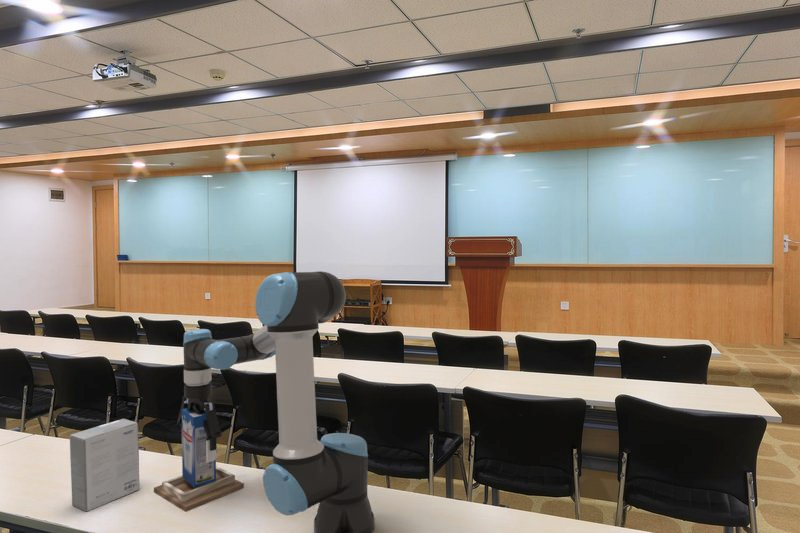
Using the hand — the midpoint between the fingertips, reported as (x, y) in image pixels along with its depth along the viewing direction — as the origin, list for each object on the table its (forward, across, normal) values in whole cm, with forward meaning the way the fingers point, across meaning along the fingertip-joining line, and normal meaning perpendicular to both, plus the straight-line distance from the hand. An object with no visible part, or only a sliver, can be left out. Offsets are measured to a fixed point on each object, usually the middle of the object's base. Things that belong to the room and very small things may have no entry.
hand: (198, 455), depth 148 cm
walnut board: (+10, 0, 0) cm, 10 cm away
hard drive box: (+10, +16, +19) cm, 27 cm away
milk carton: (+7, 0, 0) cm, 7 cm away
